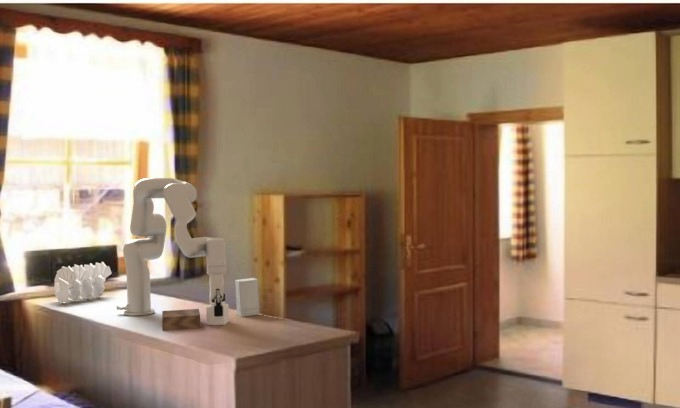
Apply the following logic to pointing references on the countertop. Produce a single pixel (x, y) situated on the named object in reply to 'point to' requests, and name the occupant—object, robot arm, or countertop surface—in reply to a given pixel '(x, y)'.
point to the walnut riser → (180, 319)
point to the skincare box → (247, 297)
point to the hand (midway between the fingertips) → (217, 314)
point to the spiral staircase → (80, 281)
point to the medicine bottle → (220, 319)
